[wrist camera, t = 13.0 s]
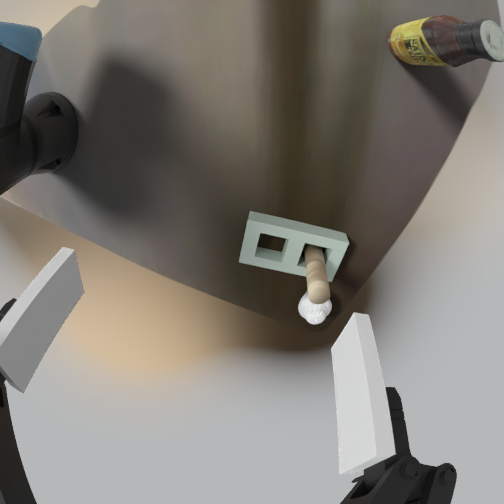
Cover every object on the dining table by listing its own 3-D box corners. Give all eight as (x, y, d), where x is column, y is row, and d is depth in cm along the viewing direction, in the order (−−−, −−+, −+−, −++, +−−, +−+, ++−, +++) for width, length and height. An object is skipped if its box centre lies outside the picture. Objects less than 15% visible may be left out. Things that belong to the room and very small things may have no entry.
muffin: (319, 309, 55) (321, 336, 50) (292, 299, 55) (292, 327, 49) (335, 288, 52) (340, 315, 46) (307, 277, 51) (310, 304, 45)
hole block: (240, 251, 49) (238, 262, 47) (249, 210, 45) (247, 219, 42) (329, 270, 50) (331, 281, 47) (345, 233, 45) (349, 243, 43)
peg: (301, 252, 48) (305, 302, 38) (306, 237, 46) (312, 286, 37) (318, 256, 48) (325, 305, 38) (323, 241, 47) (333, 290, 37)
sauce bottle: (379, 48, 28) (455, 34, 12) (395, 18, 25) (473, -10, 9) (416, 74, 29) (505, 86, 13) (431, 44, 26) (521, 41, 10)
